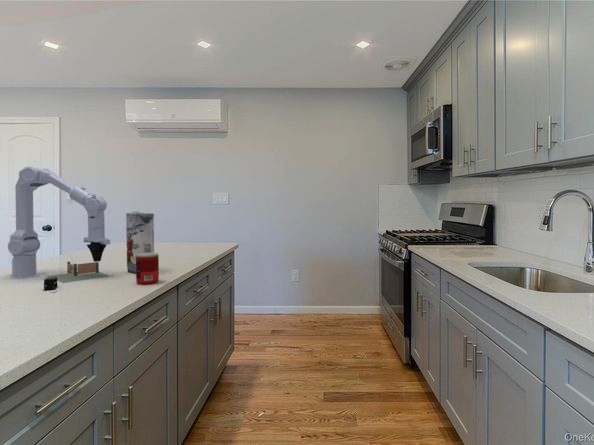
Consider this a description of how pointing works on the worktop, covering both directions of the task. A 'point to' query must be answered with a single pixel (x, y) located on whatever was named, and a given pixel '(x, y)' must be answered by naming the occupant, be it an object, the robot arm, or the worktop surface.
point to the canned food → (147, 268)
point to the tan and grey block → (73, 268)
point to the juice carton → (138, 236)
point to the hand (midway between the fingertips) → (97, 261)
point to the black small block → (50, 284)
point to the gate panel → (86, 268)
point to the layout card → (78, 277)
